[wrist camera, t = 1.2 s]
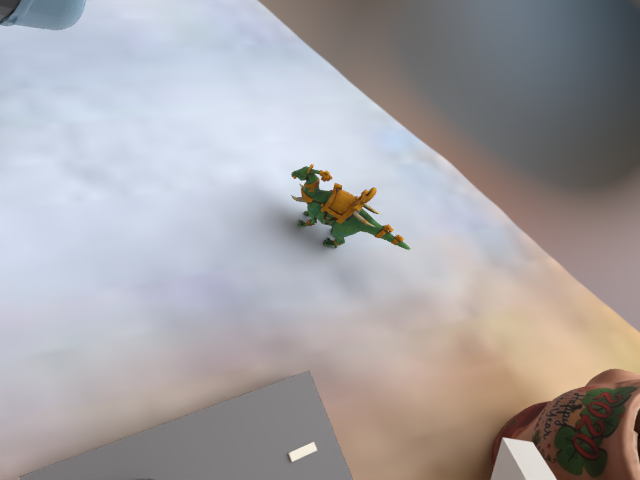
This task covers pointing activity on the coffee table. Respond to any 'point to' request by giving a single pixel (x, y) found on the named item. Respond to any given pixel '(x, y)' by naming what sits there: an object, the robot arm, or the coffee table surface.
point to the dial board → (224, 443)
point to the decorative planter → (585, 429)
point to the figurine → (340, 209)
